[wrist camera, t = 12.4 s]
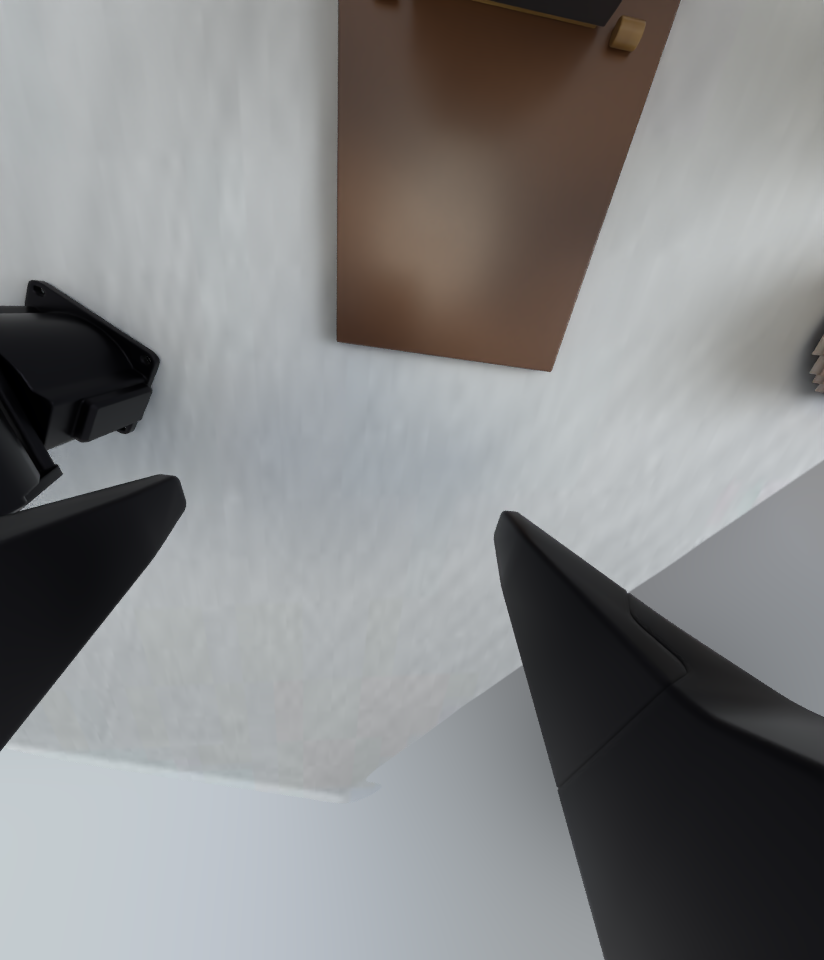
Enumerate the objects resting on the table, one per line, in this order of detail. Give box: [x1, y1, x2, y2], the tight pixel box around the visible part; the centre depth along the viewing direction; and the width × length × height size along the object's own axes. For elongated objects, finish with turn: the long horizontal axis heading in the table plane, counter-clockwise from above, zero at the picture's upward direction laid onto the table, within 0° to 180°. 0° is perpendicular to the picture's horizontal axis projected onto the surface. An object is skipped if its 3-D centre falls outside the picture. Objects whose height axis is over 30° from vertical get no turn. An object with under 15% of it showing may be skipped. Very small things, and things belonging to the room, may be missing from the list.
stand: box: [337, 0, 681, 372], centre depth 14 cm, size 16×13×2 cm
